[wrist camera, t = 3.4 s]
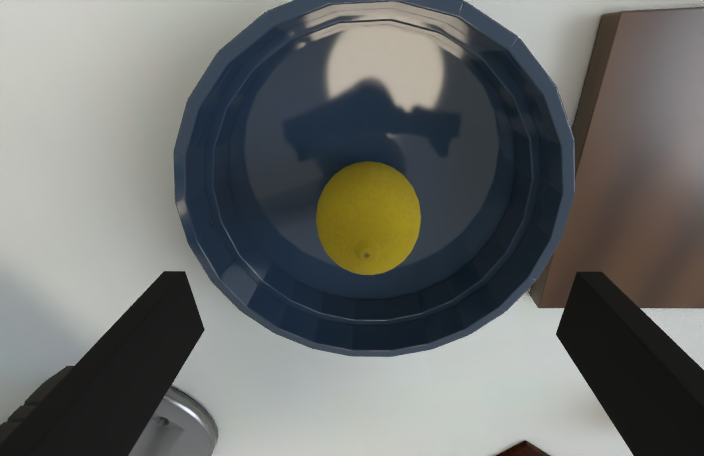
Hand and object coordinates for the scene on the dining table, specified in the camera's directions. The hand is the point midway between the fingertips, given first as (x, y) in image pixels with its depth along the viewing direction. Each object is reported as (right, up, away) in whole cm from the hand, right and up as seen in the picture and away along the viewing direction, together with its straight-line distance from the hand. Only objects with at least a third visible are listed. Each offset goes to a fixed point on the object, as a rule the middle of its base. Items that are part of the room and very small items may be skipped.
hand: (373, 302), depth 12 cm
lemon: (0, +5, +10) cm, 11 cm away
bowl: (0, +5, +10) cm, 12 cm away
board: (+20, +6, +9) cm, 23 cm away
